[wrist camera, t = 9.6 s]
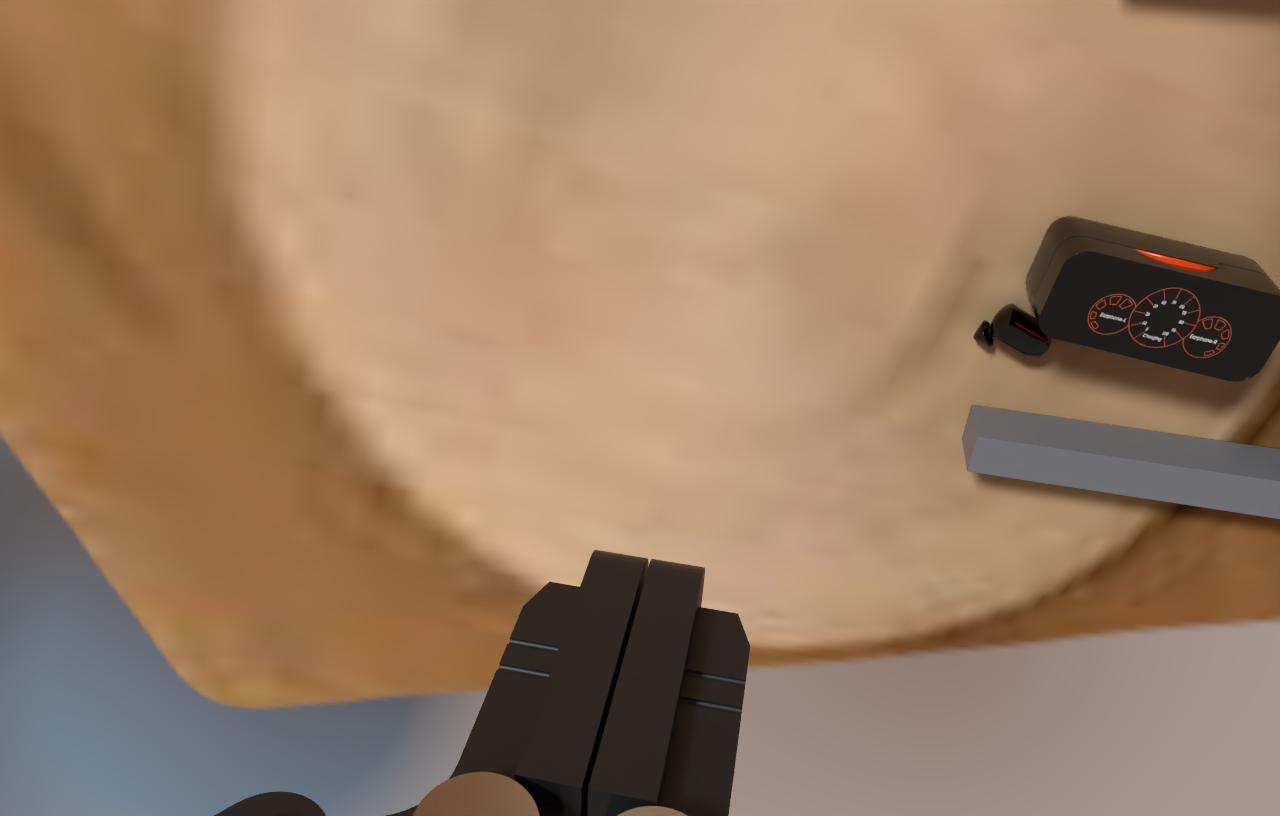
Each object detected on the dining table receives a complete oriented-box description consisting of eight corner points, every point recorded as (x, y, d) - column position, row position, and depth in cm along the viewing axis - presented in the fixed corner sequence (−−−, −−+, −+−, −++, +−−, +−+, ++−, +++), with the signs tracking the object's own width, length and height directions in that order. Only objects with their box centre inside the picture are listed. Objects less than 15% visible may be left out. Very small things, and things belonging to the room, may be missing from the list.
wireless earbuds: (1025, 199, 29) (1042, 239, 27) (1262, 255, 29) (1303, 301, 26) (970, 331, 32) (980, 379, 29) (1187, 383, 31) (1217, 438, 29)
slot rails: (1124, -128, 24) (1144, -123, 23) (1598, -93, 23) (1656, -86, 21) (961, 438, 34) (967, 471, 32) (1290, 487, 32) (1314, 524, 31)
